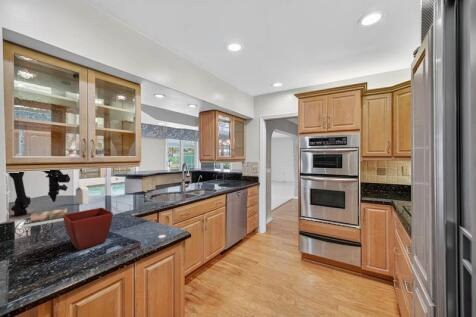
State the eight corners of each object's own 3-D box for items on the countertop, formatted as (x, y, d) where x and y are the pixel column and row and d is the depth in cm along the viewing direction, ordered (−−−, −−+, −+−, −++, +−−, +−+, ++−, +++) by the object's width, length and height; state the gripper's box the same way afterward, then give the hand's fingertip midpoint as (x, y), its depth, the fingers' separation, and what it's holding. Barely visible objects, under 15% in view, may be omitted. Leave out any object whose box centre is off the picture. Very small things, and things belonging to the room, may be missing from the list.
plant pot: (102, 233, 128) (102, 206, 127) (114, 241, 116) (113, 212, 115) (63, 244, 113) (62, 214, 112) (72, 255, 101) (70, 222, 100)
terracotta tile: (30, 222, 146) (30, 220, 146) (32, 219, 153) (32, 216, 153) (45, 220, 151) (45, 217, 151) (46, 216, 158) (46, 214, 158)
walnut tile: (48, 219, 152) (48, 217, 152) (50, 216, 160) (50, 213, 160) (62, 217, 157) (62, 214, 157) (64, 214, 165) (63, 211, 165)
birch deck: (29, 220, 152) (29, 218, 152) (31, 215, 163) (31, 213, 163) (67, 213, 167) (67, 212, 167) (66, 210, 177) (66, 208, 177)
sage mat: (21, 228, 137) (21, 227, 137) (25, 219, 153) (25, 219, 153) (71, 219, 154) (71, 218, 154) (70, 212, 170) (70, 212, 170)
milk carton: (89, 203, 198) (88, 184, 197) (82, 205, 191) (82, 185, 190) (82, 203, 199) (81, 184, 198) (76, 205, 192) (75, 185, 191)
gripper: (66, 183, 161) (67, 202, 162) (66, 180, 175) (67, 198, 176) (47, 184, 154) (48, 205, 155) (49, 181, 168) (49, 200, 169)
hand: (54, 201), depth 164 cm, fingers closed
